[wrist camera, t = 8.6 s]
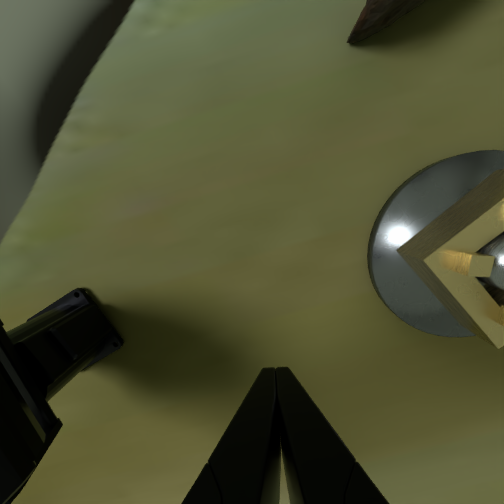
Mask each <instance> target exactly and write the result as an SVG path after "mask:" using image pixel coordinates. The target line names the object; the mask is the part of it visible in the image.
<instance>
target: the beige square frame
mask: <svg viewBox="0 0 504 504" xmlns="http://www.w3.org/2000/svg"><path fill="white" fill-rule="evenodd" d="M503 231H504V169H500V170H496V171H495V172H493V173H492V174H491V175H490V176H488V177H487V178H486V179H484V180H483V181H482V182H481V183H479V184H478V185H477V186H476V187H474V188H473V189H472V190H471V191H469V192H468V193H467V194H466V195H464V196H463V197H462V198H461V199H459V200H458V201H457V202H456V203H454V204H453V205H452V206H451V207H449V208H448V209H447V210H446V211H444V212H443V213H442V214H441V215H439V216H438V217H437V218H436V219H434V220H433V221H432V222H431V223H429V224H428V225H427V226H426V227H424V228H423V229H422V230H421V231H419V232H418V233H417V234H416V235H414V236H413V237H412V238H411V239H409V240H408V241H407V242H406V243H404V244H403V245H402V246H401V247H399V248H398V249H397V250H396V251H397V252H398V253H399V255H400V256H401V257H402V258H403V259H404V260H405V261H406V263H407V264H408V265H409V266H410V267H411V268H412V270H413V271H414V272H415V273H416V274H417V275H418V277H419V278H420V279H421V280H422V281H423V282H424V284H425V285H426V286H427V287H428V288H429V289H430V291H431V292H432V293H433V294H434V295H435V296H436V298H437V299H438V300H439V301H440V302H441V303H442V304H443V306H444V307H445V308H446V309H447V310H448V311H449V313H450V314H451V315H452V316H453V317H454V318H455V320H456V321H457V322H458V323H459V324H460V325H461V326H463V327H464V328H466V329H467V330H469V331H471V332H472V333H474V334H475V335H477V336H479V337H480V338H482V339H483V340H485V341H486V342H488V343H490V344H491V345H493V346H494V347H496V348H498V349H499V348H501V347H502V346H504V290H502V289H499V288H496V287H494V286H491V285H488V284H485V285H483V286H482V285H481V284H480V282H479V281H478V280H477V279H476V278H475V277H490V275H491V271H492V267H493V263H494V259H495V256H492V255H488V254H484V253H479V252H476V251H478V250H479V249H480V248H482V247H483V246H484V245H486V244H487V243H488V242H490V241H491V240H492V239H494V238H495V237H496V236H498V235H499V234H501V233H502V232H503Z"/></svg>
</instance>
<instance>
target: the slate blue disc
mask: <svg viewBox="0 0 504 504" xmlns="http://www.w3.org/2000/svg"><path fill="white" fill-rule="evenodd" d="M500 169H504V151H500V150H485V151H476V152H470V153H465V154H461V155H457V156H453V157H450V158H446V159H443V160H440V161H438V162H436V163H433V164H431V165H429V166H427V167H425V168H424V169H422V170H420V171H418V172H417V173H415V174H414V175H413V176H411V177H410V178H409V179H407V180H406V181H405V182H404V183H403V184H402V185H401V186H400V187H398V188H397V189H396V190H395V192H394V193H393V194H392V195H391V196H390V198H389V199H388V200H387V201H386V203H385V204H384V206H383V207H382V209H381V210H380V212H379V214H378V216H377V218H376V220H375V222H374V225H373V228H372V231H371V234H370V239H369V243H368V254H367V259H368V269H369V274H370V278H371V281H372V284H373V286H374V289H375V290H376V292H377V294H378V296H379V297H380V299H381V300H382V301H383V303H384V304H385V305H386V306H387V307H388V308H389V309H390V310H391V311H392V312H393V313H394V314H396V315H397V316H398V317H399V318H401V319H402V320H403V321H405V322H406V323H407V324H409V325H411V326H413V327H415V328H417V329H419V330H421V331H424V332H427V333H430V334H434V335H438V336H447V337H467V336H476V335H475V334H474V333H472V332H471V331H469V330H467V329H466V328H464V327H463V326H461V325H460V324H459V323H458V322H457V321H456V320H455V318H454V317H453V316H452V315H451V314H450V313H449V311H448V310H447V309H446V308H445V307H444V306H443V304H442V303H441V302H440V301H439V300H438V299H437V298H436V296H435V295H434V294H433V293H432V292H431V291H430V289H429V288H428V287H427V286H426V285H425V284H424V282H423V281H422V280H421V279H420V278H419V277H418V275H417V274H416V273H415V272H414V271H413V270H412V268H411V267H410V266H409V265H408V264H407V263H406V261H405V260H404V259H403V258H402V257H401V256H400V255H399V253H398V252H397V251H396V250H397V249H398V248H399V247H401V246H402V245H403V244H404V243H406V242H407V241H408V240H409V239H411V238H412V237H413V236H414V235H416V234H417V233H418V232H419V231H421V230H422V229H423V228H424V227H426V226H427V225H428V224H429V223H431V222H432V221H433V220H434V219H436V218H437V217H438V216H439V215H441V214H442V213H443V212H444V211H446V210H447V209H448V208H449V207H451V206H452V205H453V204H454V203H456V202H457V201H458V200H459V199H461V198H462V197H463V196H464V195H466V194H467V193H468V192H469V191H471V190H472V189H473V188H474V187H476V186H477V185H478V184H479V183H481V182H482V181H483V180H484V179H486V178H487V177H488V176H490V175H491V174H492V173H493V172H495V171H496V170H500ZM476 252H479V253H484V254H488V255H492V256H495V259H494V263H493V267H492V271H491V275H490V277H475V278H476V279H477V280H478V281H479V282H480V284H481V285H482V286H483V285H485V284H488V285H491V286H494V287H496V288H499V289H502V290H504V231H503V232H502V233H501V234H499V235H498V236H496V237H495V238H494V239H492V240H491V241H490V242H488V243H487V244H486V245H484V246H483V247H482V248H480V249H479V250H478V251H476Z"/></svg>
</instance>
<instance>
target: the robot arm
mask: <svg viewBox="0 0 504 504" xmlns="http://www.w3.org/2000/svg"><path fill="white" fill-rule="evenodd" d="M78 293H79V295H80V296H79V295H78ZM3 325H4V324H3V322H2V321H1V319H0V504H11V503H12V501H13V500H14V499H15V498H16V497H17V495H18V494H19V493H20V492H21V490H22V489H23V487H24V486H25V485H26V483H27V482H28V480H29V478H30V477H31V475H32V474H33V472H34V470H35V469H36V467H37V466H38V464H39V462H40V461H41V459H42V458H43V456H44V454H45V453H46V451H47V450H48V448H49V446H50V445H51V443H52V442H53V440H54V438H55V437H56V435H57V434H58V432H59V430H60V429H61V427H62V425H63V424H62V422H61V420H60V419H59V418H57V417H56V416H55V414H54V412H53V410H52V409H51V407H50V405H49V404H48V401H49V400H50V399H51V398H52V397H53V396H54V395H55V394H56V393H57V392H58V391H59V390H61V389H62V388H63V387H64V386H65V385H66V384H67V383H68V382H69V381H70V380H71V379H73V378H74V377H75V376H76V375H77V374H78V373H79V372H80V371H81V370H83V369H85V368H86V367H88V366H90V365H92V364H93V363H95V362H97V361H99V360H100V359H102V358H104V357H106V356H107V355H109V354H111V353H113V352H114V351H116V350H118V349H119V348H120V347H121V346H122V345H123V344H124V342H123V339H122V338H121V337H120V336H119V334H118V333H117V332H116V330H115V329H114V328H113V327H112V325H111V324H110V323H109V321H108V320H107V319H106V318H105V316H104V315H103V314H102V312H101V311H100V310H99V309H98V307H97V306H96V305H95V303H94V302H93V301H92V299H91V298H90V297H89V296H88V294H87V293H86V292H85V290H83V289H82V288H77V289H75V290H73V291H71V292H69V293H68V294H66V295H65V296H63V297H62V298H60V299H59V300H57V301H56V302H54V303H53V304H51V305H49V306H48V307H46V308H45V309H43V310H42V311H40V312H39V313H37V314H36V315H34V316H33V317H31V318H29V319H28V320H27V322H26V323H24V324H22V325H20V326H18V327H16V328H14V329H12V330H10V331H8V332H6V331H5V330H4V328H3ZM116 342H117V343H118V344H117V343H116ZM280 438H281V440H280ZM281 449H282V457H283V463H284V469H285V475H286V481H287V487H288V493H289V499H290V504H389V503H388V501H387V500H386V499H385V497H384V496H383V495H382V493H381V492H380V491H379V490H378V488H377V487H376V486H375V484H374V483H373V482H372V480H371V479H370V478H369V476H368V475H367V474H366V472H365V471H364V470H363V468H362V467H361V465H360V464H359V463H358V462H356V459H355V457H354V456H353V455H352V453H351V452H350V451H349V449H348V448H347V447H346V445H345V444H344V442H343V441H342V440H341V438H340V437H339V436H338V434H337V433H336V432H335V430H334V429H333V427H332V426H331V425H330V423H329V422H328V421H327V419H326V418H325V416H324V415H323V414H322V412H321V411H320V410H319V408H318V407H317V406H316V404H315V403H314V401H313V400H312V399H311V397H310V396H309V395H308V393H307V392H306V391H305V389H304V388H303V386H302V385H301V384H300V382H299V381H298V380H297V378H296V377H295V375H294V374H293V373H292V371H291V370H290V369H289V368H288V367H277V368H276V370H275V368H274V367H269V368H263V369H262V370H261V372H260V373H259V375H258V377H257V378H256V380H255V382H254V383H253V385H252V387H251V388H250V390H249V392H248V393H247V395H246V397H245V399H244V400H243V402H242V404H241V405H240V407H239V409H238V410H237V412H236V414H235V415H234V417H233V419H232V421H231V422H230V424H229V426H228V427H227V429H226V431H225V432H224V434H223V436H222V437H221V439H220V441H219V442H218V444H217V446H216V448H215V449H214V451H213V453H212V454H211V456H210V458H209V459H208V463H206V464H205V466H204V468H203V469H202V471H201V473H200V474H199V476H198V478H197V479H196V481H195V483H194V484H193V486H192V487H191V489H190V491H189V492H188V494H187V495H186V497H185V499H184V500H183V502H182V503H181V504H279V498H280V471H281Z"/></svg>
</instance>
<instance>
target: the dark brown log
mask: <svg viewBox="0 0 504 504" xmlns="http://www.w3.org/2000/svg"><path fill="white" fill-rule="evenodd" d="M424 1H425V0H367V2H366V5H365V7H364V9H363V10H362V12H361V14H360V16H359V18H358V20H357V22H356V24H355V26H354V28H353V30H352V32H351V34H350V36H349V38H348V41H347V43H355V42H358V41H360V40H363V39H365V38H367V37H369V36H371V35H372V34H374V33H377V32H378V31H380V30H381V29H383V28H385V27H387V26H389V25H391V24H392V23H393V22H395V21H396V20H397V19H398V18H400V17H401V16H403V15H404V14H406V13H408V12H409V11H411V10H412V9H414V8H415V7H417V6H418V5H420V4H422V3H423V2H424Z"/></svg>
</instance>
